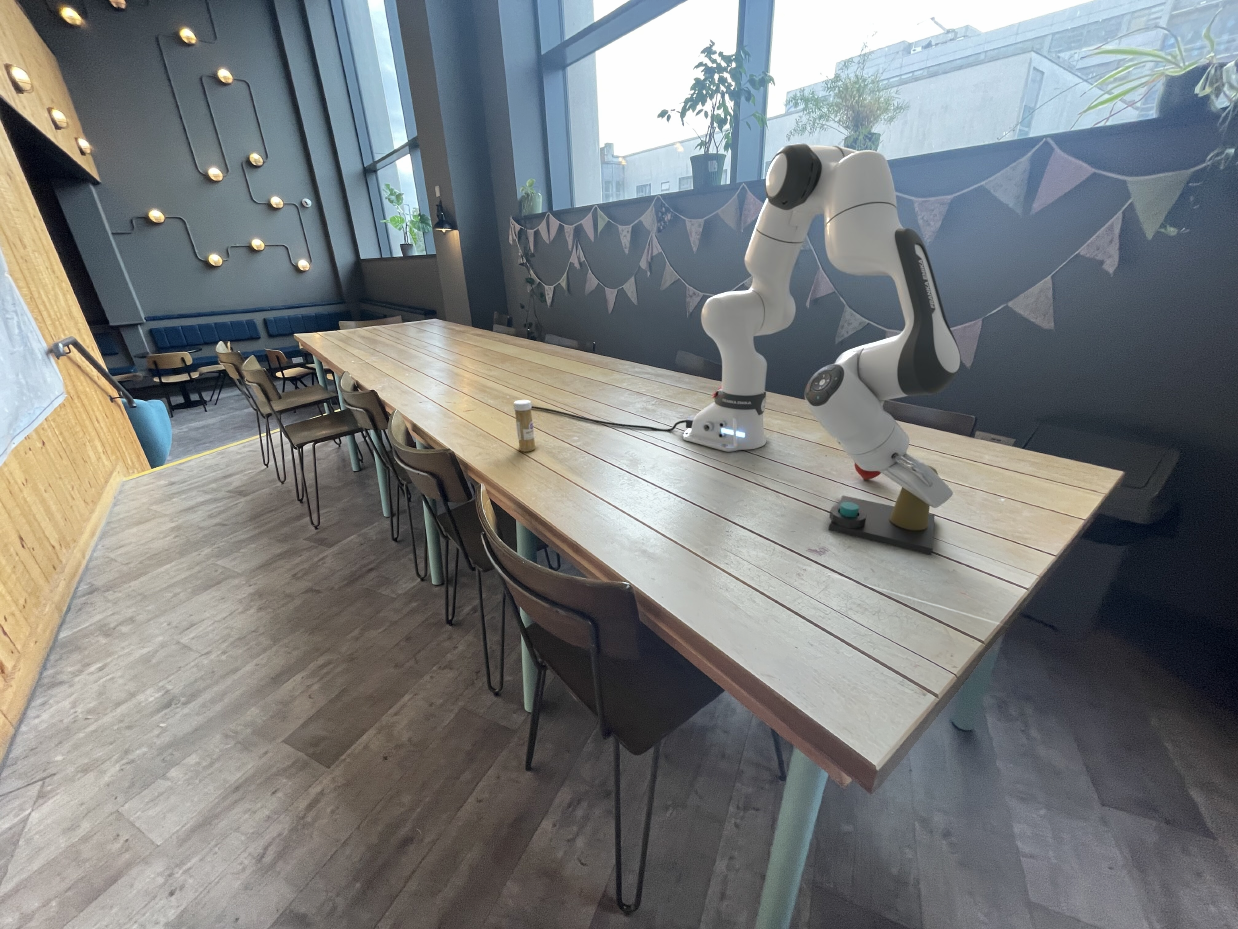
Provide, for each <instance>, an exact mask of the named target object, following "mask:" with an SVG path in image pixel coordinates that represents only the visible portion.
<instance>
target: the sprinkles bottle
mask: <svg viewBox="0 0 1238 929" xmlns="http://www.w3.org/2000/svg"><path fill="white" fill-rule="evenodd" d="M531 401H532V400H529V399H519V400H515V401H514V402H513V410H514V413H515V424H516V432H517V439H518V446H519V447H518V449H519V451H521V452H526V453H527V452H531V451H534V450H535V449H536V441H535V429H534V421H533V414H532V409H533V408H532V407H531V406H532V402H531Z"/></svg>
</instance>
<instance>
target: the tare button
mask: <svg viewBox="0 0 1238 929" xmlns="http://www.w3.org/2000/svg"><path fill="white" fill-rule="evenodd" d="M858 510H859V506H858V505H857V504H855V503H851V502H843V503H841V506H840V512H839V513H840V514H841V515H843V516H846V517H857V515H858Z"/></svg>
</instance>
